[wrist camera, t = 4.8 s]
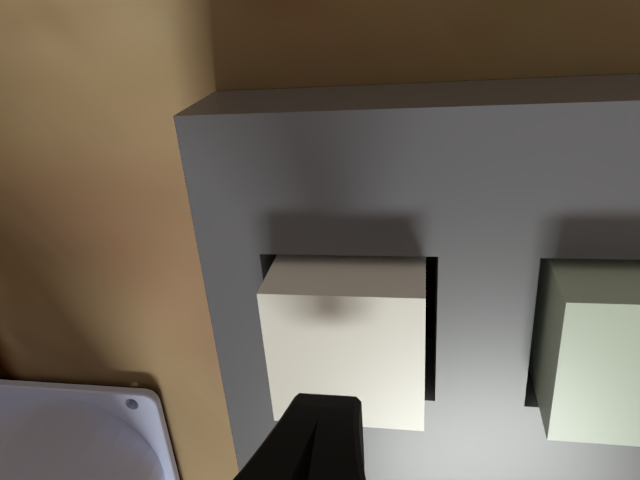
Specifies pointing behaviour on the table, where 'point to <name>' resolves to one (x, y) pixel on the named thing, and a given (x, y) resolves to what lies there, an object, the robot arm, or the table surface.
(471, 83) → the button panel
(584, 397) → the sage button
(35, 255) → the table surface
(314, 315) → the off-white button
